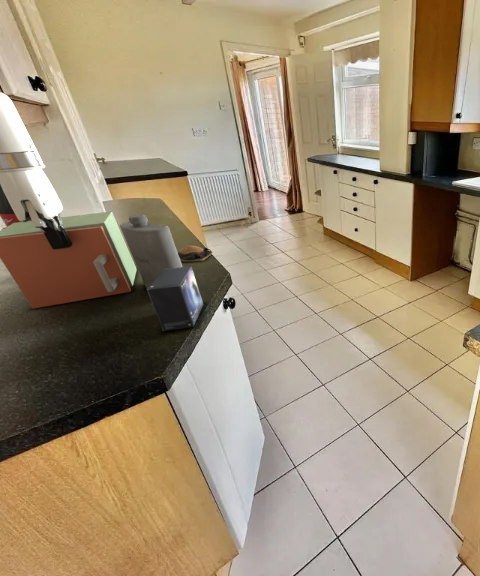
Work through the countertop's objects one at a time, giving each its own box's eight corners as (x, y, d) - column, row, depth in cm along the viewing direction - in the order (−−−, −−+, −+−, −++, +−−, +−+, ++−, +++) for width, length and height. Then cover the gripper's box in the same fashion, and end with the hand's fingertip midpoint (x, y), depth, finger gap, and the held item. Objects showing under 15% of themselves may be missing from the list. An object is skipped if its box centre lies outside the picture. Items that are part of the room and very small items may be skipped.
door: (125, 300, 80) (93, 233, 71) (21, 319, 73) (-28, 247, 64) (131, 290, 85) (102, 226, 76) (34, 306, 78) (-9, 238, 69)
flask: (138, 287, 86) (106, 215, 77) (160, 278, 91) (132, 209, 81) (173, 299, 80) (143, 222, 71) (194, 289, 85) (169, 215, 75)
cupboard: (132, 286, 87) (104, 222, 78) (35, 306, 78) (-10, 237, 69) (136, 269, 97) (111, 211, 88) (50, 286, 88) (13, 223, 79)
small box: (196, 327, 69) (180, 285, 64) (162, 332, 68) (144, 289, 63) (205, 303, 78) (192, 264, 73) (176, 307, 76) (160, 268, 72)
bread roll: (169, 262, 101) (165, 251, 100) (184, 252, 109) (180, 242, 107) (202, 262, 101) (198, 251, 99) (214, 252, 109) (211, 242, 107)
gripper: (9, 160, 68) (53, 240, 77) (-31, 168, 56) (27, 262, 65) (54, 157, 71) (92, 235, 80) (25, 164, 59) (74, 254, 68)
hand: (63, 247), depth 72 cm, fingers closed
